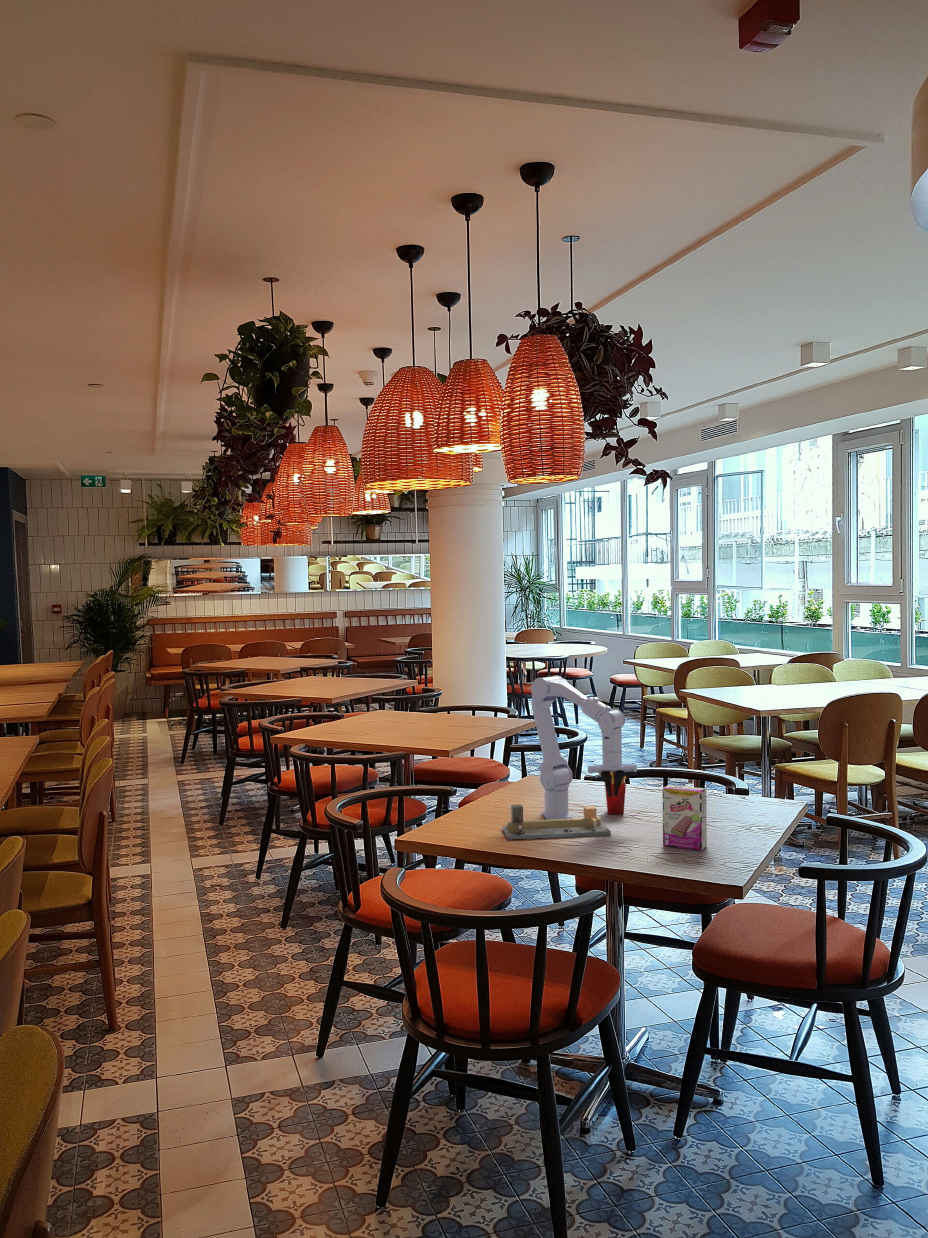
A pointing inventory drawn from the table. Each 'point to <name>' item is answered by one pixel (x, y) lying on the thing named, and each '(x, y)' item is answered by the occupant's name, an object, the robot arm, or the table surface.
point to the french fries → (616, 799)
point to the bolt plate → (551, 827)
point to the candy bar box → (684, 817)
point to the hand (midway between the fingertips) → (612, 796)
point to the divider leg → (590, 813)
